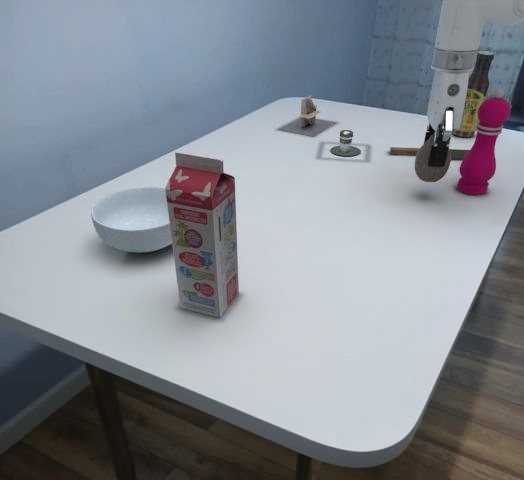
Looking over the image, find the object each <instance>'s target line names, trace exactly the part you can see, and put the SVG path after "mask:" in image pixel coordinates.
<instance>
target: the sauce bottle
mask: <svg viewBox="0 0 524 480" xmlns="http://www.w3.org/2000/svg"><path fill="white" fill-rule="evenodd" d="M495 54H496V53H494V52H492V51H488V50H480V51H479V50H478V53H477V57H476V62H475V66H474V70H473V71H471V72H472V73H471V74H469V80H468V87H467V94H466V99H465V105H464V110H463V115H462V120H461V125H460V129H459V130H458V131H455V130H454V129H453V128H452V135H454V136H456V137H460V138H470V137H473V136H474V134H475V132H476V128H477V123H478V122H480V121H479V119H478V114H477V113H478V109H479V107H480V105H481V104H482V102H484V101H485V100H486V99H487V94H488V90H489V88H490V78H489V73H490V68H491V65H492V62H493V61H494V59H495Z"/></svg>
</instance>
